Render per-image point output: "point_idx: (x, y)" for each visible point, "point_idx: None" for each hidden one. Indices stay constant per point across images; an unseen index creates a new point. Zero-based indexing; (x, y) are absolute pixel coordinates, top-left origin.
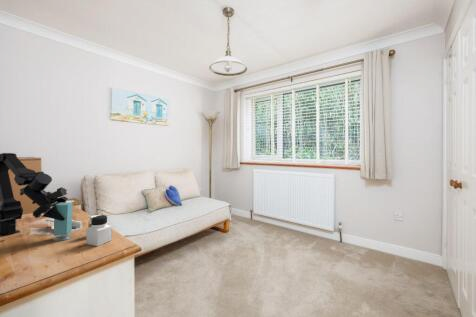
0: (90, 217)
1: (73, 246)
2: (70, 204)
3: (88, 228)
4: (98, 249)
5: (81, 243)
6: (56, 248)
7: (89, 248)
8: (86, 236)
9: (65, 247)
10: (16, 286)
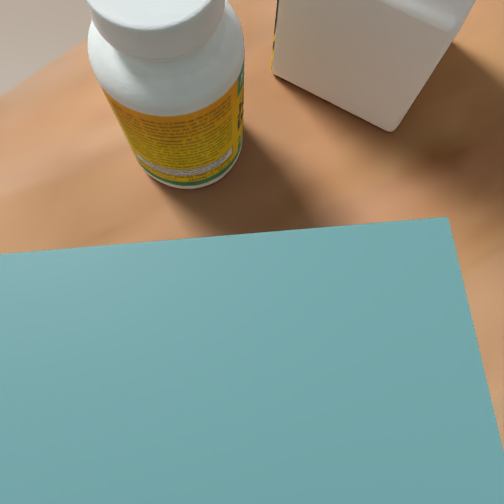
0: (201, 16)
1: (440, 209)
2: (88, 267)
3: (466, 1)
4: (494, 13)
5: (376, 175)
6: (483, 330)
7: (478, 76)
8: (422, 86)
9: (461, 263)
10: None
